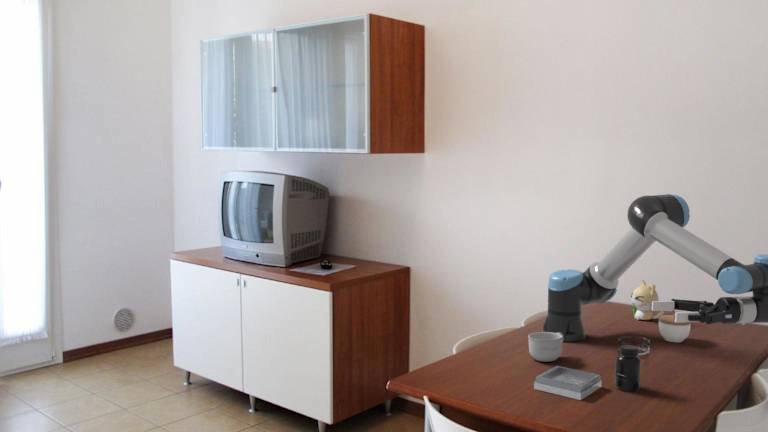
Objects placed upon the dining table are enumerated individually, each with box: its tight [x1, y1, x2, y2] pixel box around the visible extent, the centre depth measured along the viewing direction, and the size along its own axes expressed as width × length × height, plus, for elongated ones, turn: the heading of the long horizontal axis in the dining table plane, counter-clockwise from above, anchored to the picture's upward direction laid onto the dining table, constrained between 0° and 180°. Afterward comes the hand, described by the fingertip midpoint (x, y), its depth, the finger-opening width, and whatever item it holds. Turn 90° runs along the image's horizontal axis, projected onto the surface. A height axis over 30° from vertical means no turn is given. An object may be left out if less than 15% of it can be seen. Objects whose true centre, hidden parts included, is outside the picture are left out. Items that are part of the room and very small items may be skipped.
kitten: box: [630, 279, 665, 321], centre depth 286 cm, size 15×10×15 cm
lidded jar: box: [658, 313, 692, 343], centre depth 257 cm, size 11×11×9 cm
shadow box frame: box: [533, 365, 603, 401], centre depth 207 cm, size 14×14×4 cm
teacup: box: [527, 331, 564, 363], centre depth 234 cm, size 14×11×8 cm
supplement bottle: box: [614, 344, 642, 393], centre depth 207 cm, size 7×7×12 cm
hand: (663, 311), depth 206 cm, fingers open, 13 cm apart
